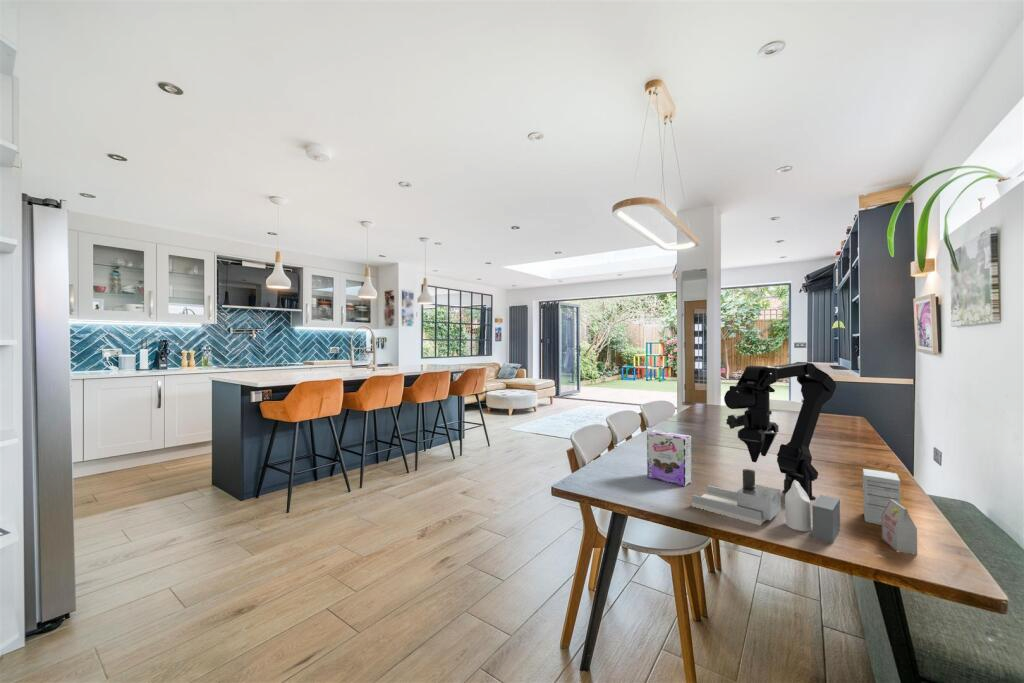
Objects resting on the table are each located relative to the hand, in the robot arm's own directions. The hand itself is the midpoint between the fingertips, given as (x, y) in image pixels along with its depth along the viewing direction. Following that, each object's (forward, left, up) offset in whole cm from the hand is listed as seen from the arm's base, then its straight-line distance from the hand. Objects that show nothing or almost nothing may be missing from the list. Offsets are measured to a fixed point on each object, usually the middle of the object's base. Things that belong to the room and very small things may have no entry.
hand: (758, 458), depth 124 cm
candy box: (+20, -20, -13) cm, 31 cm away
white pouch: (-1, +16, -13) cm, 21 cm away
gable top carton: (-17, +27, -13) cm, 35 cm away
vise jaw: (+6, +10, -11) cm, 16 cm away
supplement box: (-25, +13, -13) cm, 31 cm away
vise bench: (+5, +11, -13) cm, 18 cm away
